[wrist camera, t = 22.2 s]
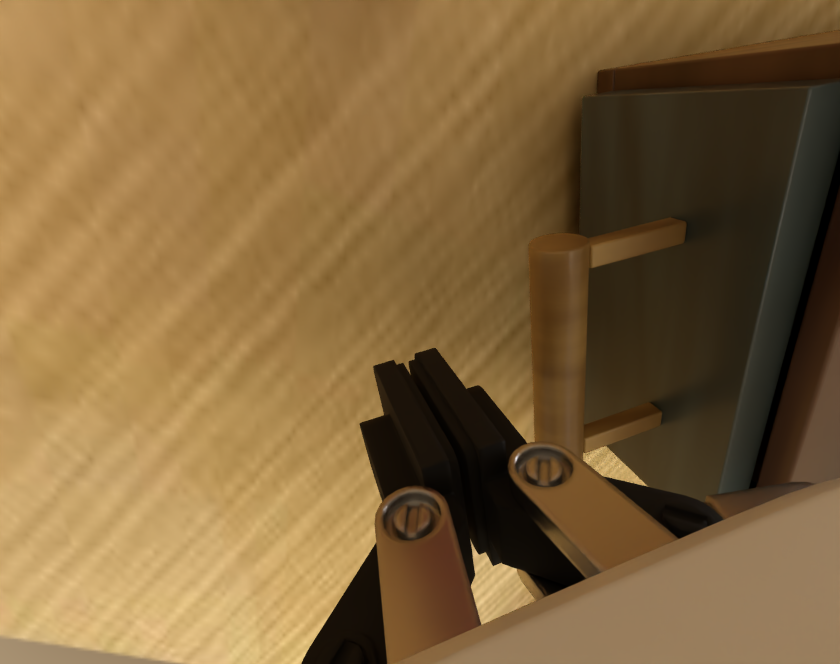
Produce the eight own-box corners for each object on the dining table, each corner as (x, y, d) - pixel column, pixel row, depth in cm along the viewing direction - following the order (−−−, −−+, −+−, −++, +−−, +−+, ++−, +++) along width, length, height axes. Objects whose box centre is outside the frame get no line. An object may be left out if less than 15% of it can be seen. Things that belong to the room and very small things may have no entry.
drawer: (485, 447, 19) (586, 596, 13) (453, 119, 13) (608, 127, 7) (830, 328, 23) (1027, 403, 17) (923, 34, 17) (1269, -5, 11)
